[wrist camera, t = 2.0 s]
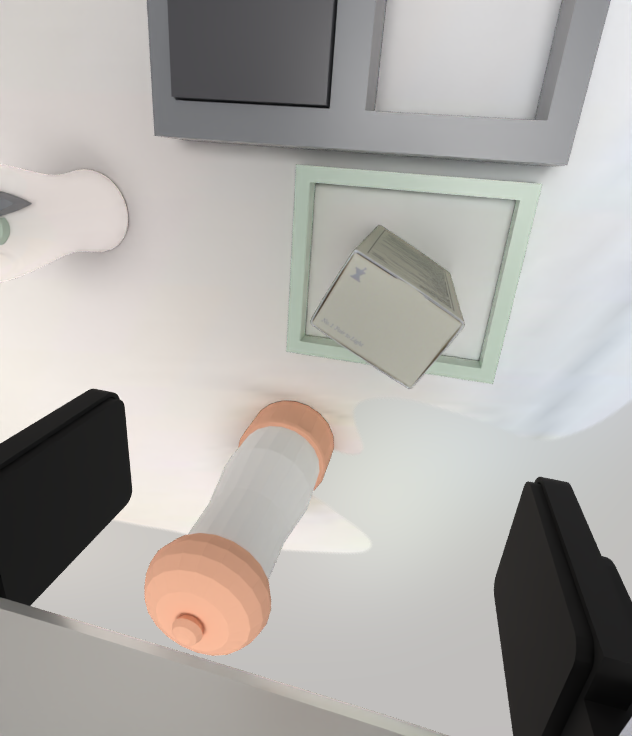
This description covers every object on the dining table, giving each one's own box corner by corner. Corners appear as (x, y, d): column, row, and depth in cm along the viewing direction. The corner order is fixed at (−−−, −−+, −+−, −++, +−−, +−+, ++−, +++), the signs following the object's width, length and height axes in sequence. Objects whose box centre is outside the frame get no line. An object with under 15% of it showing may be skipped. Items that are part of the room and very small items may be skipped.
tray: (302, 164, 31) (296, 164, 30) (537, 183, 29) (542, 183, 27) (291, 345, 37) (286, 351, 35) (490, 375, 34) (493, 384, 32)
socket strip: (177, -105, 27) (131, -155, 23) (622, -120, 23) (662, -185, 19) (185, 140, 33) (149, 134, 28) (550, 166, 28) (570, 164, 24)
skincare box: (345, 275, 34) (301, 322, 23) (380, 220, 32) (351, 244, 21) (417, 324, 34) (408, 395, 23) (457, 273, 32) (468, 324, 21)
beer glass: (92, 142, 34) (-132, 119, 21) (151, 224, 36) (-23, 253, 22) (39, 199, 37) (-190, 212, 23) (95, 273, 38) (-90, 326, 25)
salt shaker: (236, 435, 41) (92, 622, 24) (287, 383, 38) (163, 556, 21) (297, 489, 42) (199, 709, 24) (351, 442, 39) (284, 657, 21)
